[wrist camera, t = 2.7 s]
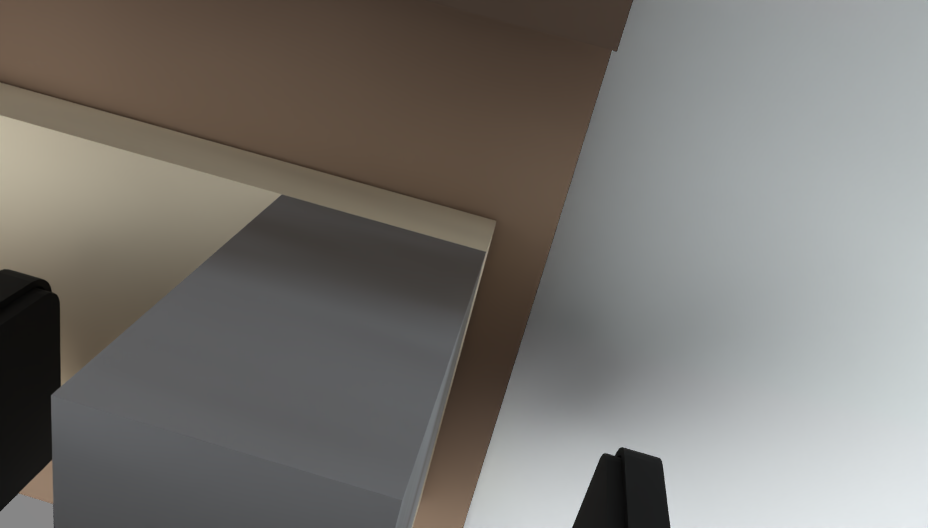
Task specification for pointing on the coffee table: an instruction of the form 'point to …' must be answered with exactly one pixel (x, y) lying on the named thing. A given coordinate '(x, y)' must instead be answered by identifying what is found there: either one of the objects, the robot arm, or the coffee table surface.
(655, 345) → the coffee table surface
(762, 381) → the coffee table surface
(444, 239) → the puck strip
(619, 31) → the lane board
